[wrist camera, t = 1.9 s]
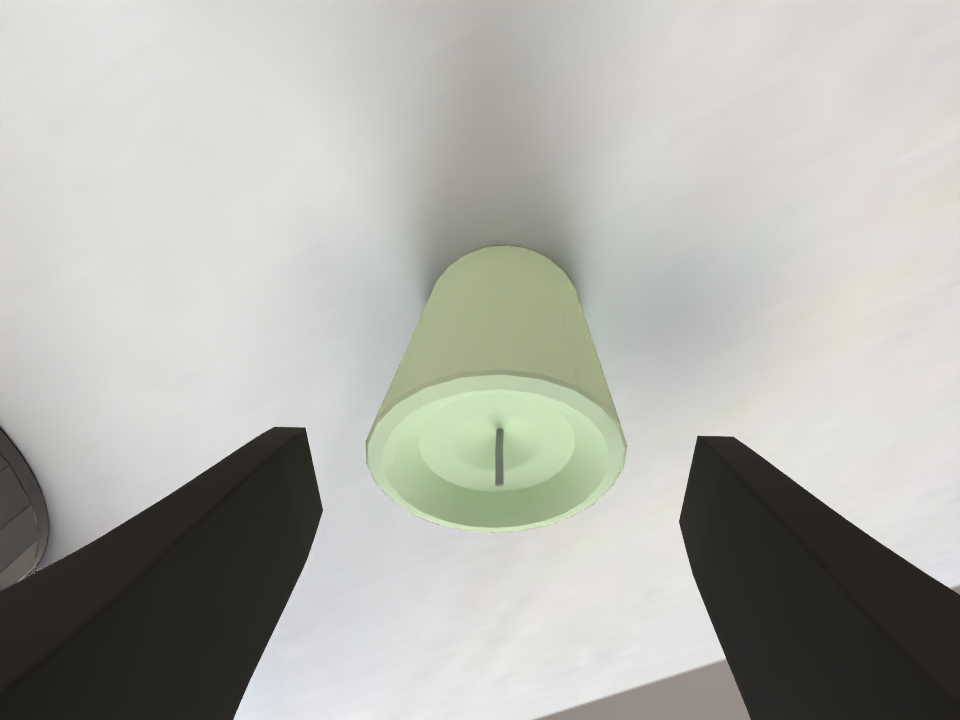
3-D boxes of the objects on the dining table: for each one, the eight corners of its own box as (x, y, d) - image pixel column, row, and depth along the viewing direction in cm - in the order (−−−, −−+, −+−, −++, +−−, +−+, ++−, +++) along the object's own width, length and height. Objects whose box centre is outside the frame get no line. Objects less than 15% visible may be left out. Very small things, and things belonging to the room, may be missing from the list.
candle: (591, 373, 17) (648, 575, 10) (449, 397, 18) (403, 601, 10) (568, 227, 15) (620, 345, 8) (408, 262, 16) (314, 399, 8)
